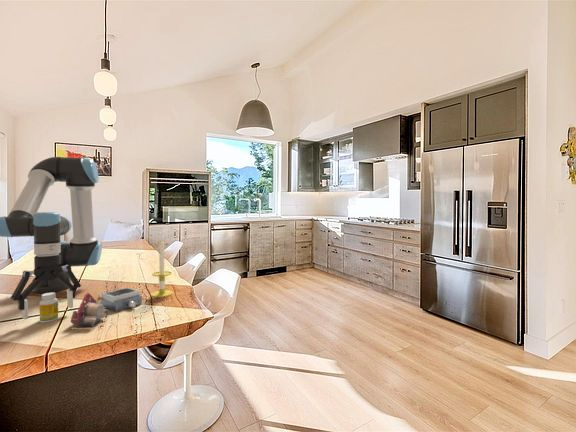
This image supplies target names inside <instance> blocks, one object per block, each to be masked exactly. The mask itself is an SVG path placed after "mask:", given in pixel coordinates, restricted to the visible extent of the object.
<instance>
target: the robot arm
mask: <svg viewBox="0 0 576 432" xmlns="http://www.w3.org/2000/svg"><path fill="white" fill-rule="evenodd" d="M27 178H28V180H27V182H26V183H25V185H24V187H23V189H22V190H21V192H20V193H19V196H18V198H17V199H16V201H15V203H14V205H13V206H12V209H11V210H10V212H9V214H8V216H6V215H5V216H0V237H1V238H16V237H17V238H18V237H19V238H20V237H24V238H25V237H33V255H35V256H34V257H33V258H34V259H33V260H34V261H33V262H34V263H33V265H34V269H33V270H23V272H22V276H21V278H20V281H19V282H18V284H17V285H16V288H15V290H14V291H13V292H12V295H11V296H10V299H11V300H12V301H15V302H16V301H17V304H18V305H17V306H18V310H19V311H21V319H23V320H29V309H28V308H29V304H28V303H29V300H28V299H27V298H28V297H29V295H30V294H31V293H32V292H33V293H35V294H36V293H37V294H45V293H56V292H59V291H64V290H66V306H67V307H66V308H69V309H73V307H74V299H75V298H76V290H77V289H79V288H81V287H82V285H81V283H80V282H79V280H78V279H77V277H76V276H75V273H73V271H72V267H89V266H90V267H91V266H96V265H97V264H98V263H99V262H100V260H101V255H102V250H103V249H102V248H103V246H102V245H103V244H102V242H99V241H98V238H97V237H96V236H95V234H94V233H95V232H94V216H93V215H94V214H93V213H94V212H93V197H92V196H93V194H92V189H94V188H95V186H96V184H97V183H98V182H99V171H98V167H97V164H96V163H95V161H94V160H93V159H91V158H84V157H67V156H63V157H62V156H53V157H48V158H46V159H42V160H41V161H39V162H37V163H35V165H34V166H33V167H32V168H31V169H30V171H29V172H28V174H27ZM56 182H62V183H63V182H64V183H65V187H67V188H68V189H69V191H70V207H71V220H70V219H69V218H68V217H65V216H61V215H60V213H59V212H57V211H55V212H54V211H53V212H52V211H51V212H50V211H41V212H38V211H39V209H40V207H41V204H42V203H43V200H44V199H45V196H47V195H46V194H47V192H48V191H49V188H50V187H52V186H53V185H54V184H55V183H56ZM71 229H72V237H71V239H70V240H69V242H67V241H66V240H61V237H62V236H63V235H65V234H67V233H69V232H70V231H71ZM33 275H34V276H35V277H33V279H32V281H31V282H30V283H29V284H28V286H27V283H28V282H29V280H30V278H32V276H33ZM25 287H26V288H25ZM24 288H25V289H24Z"/></svg>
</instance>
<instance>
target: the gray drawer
mask: <svg viewBox="0 0 576 432" xmlns="http://www.w3.org/2000/svg"><path fill="white" fill-rule="evenodd" d="M100 295H101V296H103V297H104V298H105V300H104V302H103V307H104V309H106V310H110V311H112V312H116V313H117V312H121V311H123V310H126V308H127V309H129V308H131V309H134V308H136V305H137V306H139V305H142V304H143V296H142V295H140V290H139V289H135V288H131V287H127V286H126V287H124V288H123V287H122V288H119V289H116V290H111V291H107V292H102V293H101V294H100Z"/></svg>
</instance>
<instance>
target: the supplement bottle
mask: <svg viewBox="0 0 576 432" xmlns="http://www.w3.org/2000/svg"><path fill="white" fill-rule="evenodd" d="M56 296H57V294H56V292H48V293H42V294H41V300H40V301H39V303H38V304H39V305H38V306H39V322H41V323H50V322H51V323H52V322H54V321H56V320H58V319H59V300H58V298H56Z"/></svg>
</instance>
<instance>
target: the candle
mask: <svg viewBox="0 0 576 432" xmlns="http://www.w3.org/2000/svg"><path fill="white" fill-rule="evenodd" d="M158 248H159V253H158V254H159V255H158V256H159V271H156V272H154V273H151V275H152V276H153V277H158V285H159V286H158V287H159V288H158V289H159V290H157V291H153V292H152V293H150V296H151V297H152V298H164V297H169V296H172V295H173V294H174V291H172V290H169V289H166V276H170V275H172V271H167V270H165V242H164V240H163V238H161V239H160V242H159V246H158Z"/></svg>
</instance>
